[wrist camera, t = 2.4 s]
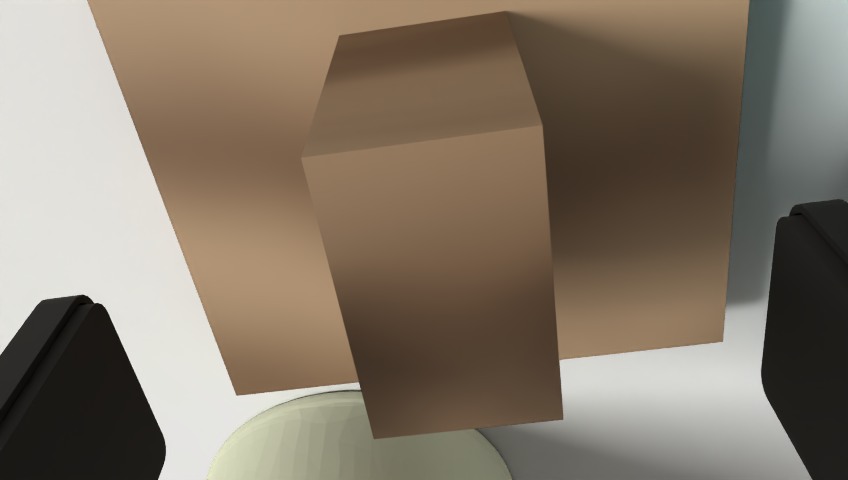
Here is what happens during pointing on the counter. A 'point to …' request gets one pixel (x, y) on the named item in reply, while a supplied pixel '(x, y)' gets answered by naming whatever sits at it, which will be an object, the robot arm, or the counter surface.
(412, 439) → the can
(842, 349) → the robot arm
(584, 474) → the counter surface
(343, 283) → the lid
